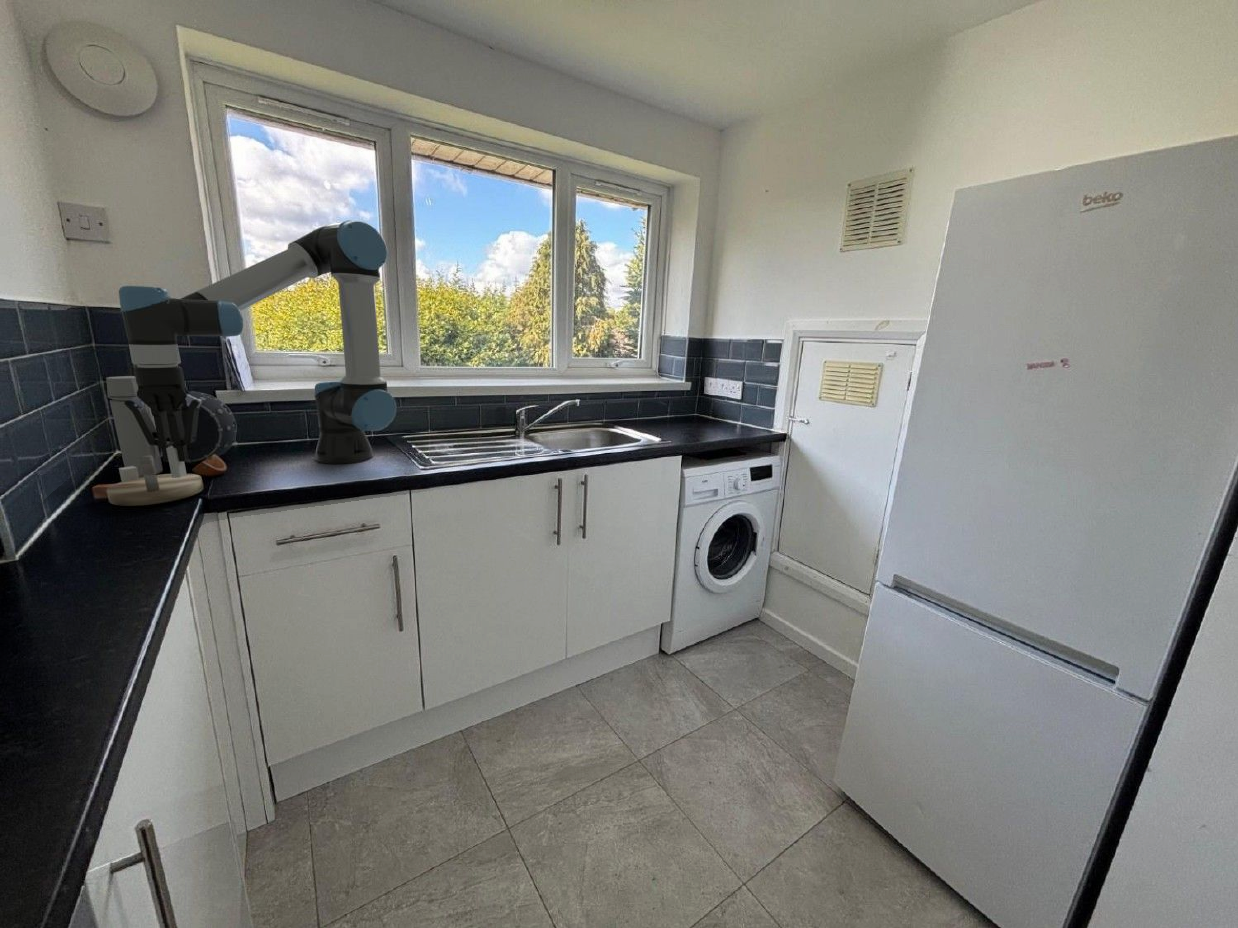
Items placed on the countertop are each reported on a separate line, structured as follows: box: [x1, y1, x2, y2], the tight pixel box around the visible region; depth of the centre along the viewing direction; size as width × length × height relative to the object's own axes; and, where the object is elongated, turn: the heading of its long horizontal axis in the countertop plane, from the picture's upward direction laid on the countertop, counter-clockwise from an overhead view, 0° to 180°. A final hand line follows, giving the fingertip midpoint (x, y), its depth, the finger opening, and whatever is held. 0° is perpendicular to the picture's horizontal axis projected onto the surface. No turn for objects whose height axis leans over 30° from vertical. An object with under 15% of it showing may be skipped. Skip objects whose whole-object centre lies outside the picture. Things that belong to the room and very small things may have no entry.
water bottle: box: [106, 375, 163, 478], centre depth 130 cm, size 9×8×25 cm
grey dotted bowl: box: [158, 391, 238, 465], centre depth 143 cm, size 11×20×20 cm, turn 107°
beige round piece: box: [91, 455, 204, 507], centre depth 114 cm, size 16×19×10 cm
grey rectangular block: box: [118, 466, 140, 482], centre depth 121 cm, size 2×2×5 cm
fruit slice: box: [192, 454, 228, 477], centre depth 133 cm, size 8×7×5 cm
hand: (179, 475), depth 111 cm, fingers closed
